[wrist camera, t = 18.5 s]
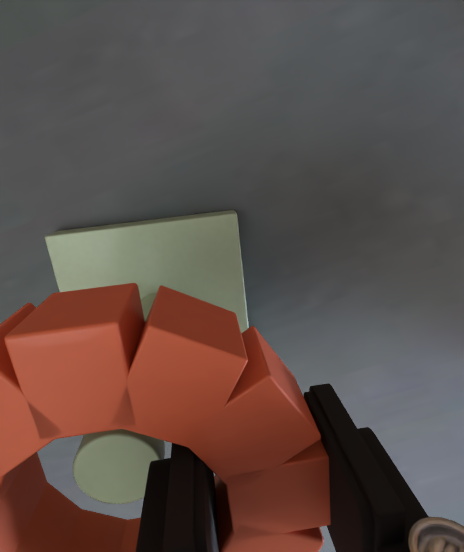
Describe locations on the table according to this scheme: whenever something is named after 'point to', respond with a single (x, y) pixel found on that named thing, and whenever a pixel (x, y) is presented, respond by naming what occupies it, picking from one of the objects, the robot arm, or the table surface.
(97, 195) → the table surface
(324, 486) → the ring
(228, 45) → the table surface
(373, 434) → the robot arm
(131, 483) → the post
